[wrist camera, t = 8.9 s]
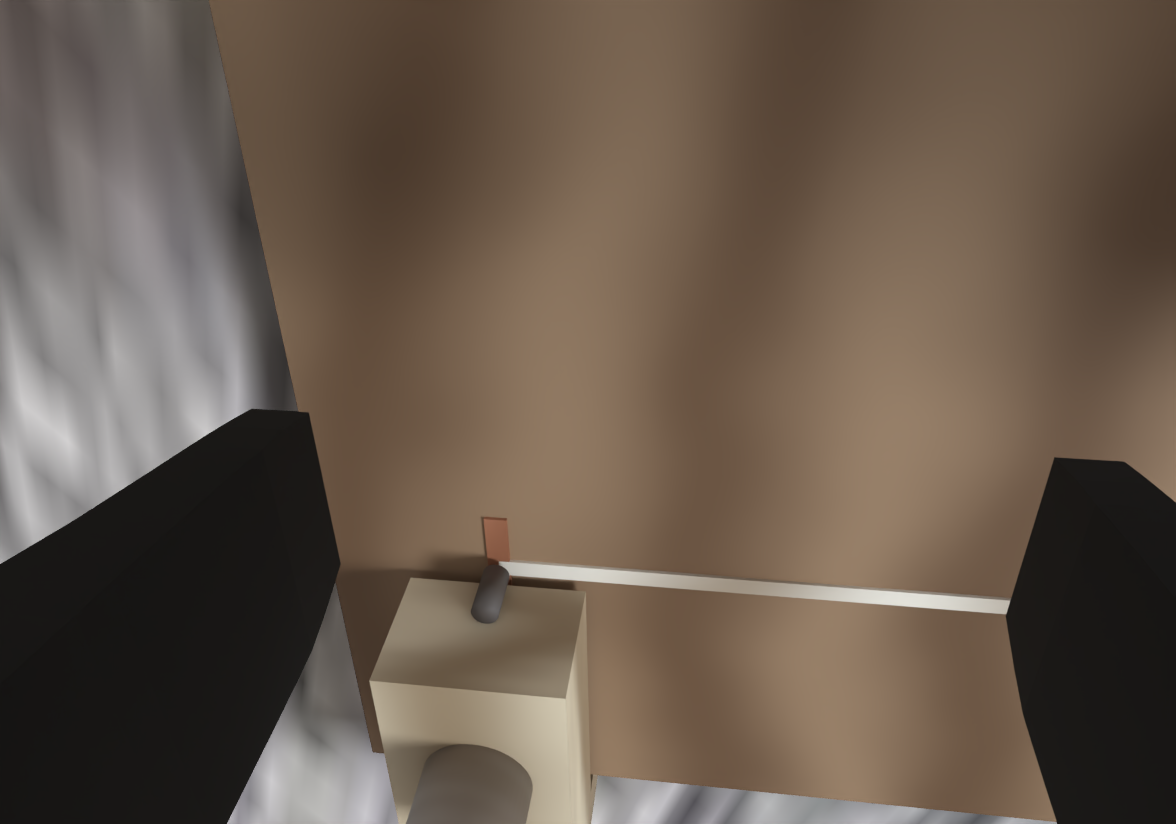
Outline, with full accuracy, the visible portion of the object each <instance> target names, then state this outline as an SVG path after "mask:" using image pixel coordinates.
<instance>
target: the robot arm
mask: <svg viewBox="0 0 1176 824" xmlns="http://www.w3.org/2000/svg"><path fill="white" fill-rule="evenodd" d="M340 565H341V562H340V558H339V553H338V548H337V544H336V539H335V534H334V529H333V525H332V520H331V515H330V510H329V506H328V501H327V496H326V491H325V487H324V482H323V477H322V473H321V468H320V463H319V458H318V454H317V449H316V444H315V439H314V435H313V430H312V425H311V420H310V416H309V412H295V411H279V410H262V409H251V410H249V411H247V412H245V413H243V414H242V415H240V416H238V417H236V418H234V419H232V420H231V421H229V422H227V423H226V424H224V425H222V426H221V427H219V428H217V429H216V430H214V431H213V432H211V433H209V434H208V435H206V436H205V437H203V438H201V439H200V440H198V441H197V442H195V443H194V444H192V445H190V446H189V447H187V448H186V449H184V450H183V451H181V452H180V453H178V454H176V455H175V456H173V457H172V458H170V459H169V460H167V461H166V462H164V463H163V464H161V465H160V466H158V467H156V468H155V469H153V470H152V471H150V472H149V473H147V474H146V475H144V476H143V477H141V478H139V479H138V480H136V481H135V482H133V483H132V484H130V485H128V486H127V487H125V488H124V489H122V490H121V491H119V492H118V493H116V494H114V495H113V496H111V497H110V498H108V499H107V500H105V501H104V502H102V503H100V504H99V505H97V506H96V507H94V508H93V509H91V510H89V511H88V512H86V513H85V514H83V515H82V516H80V517H79V518H77V519H75V520H74V521H72V522H71V523H69V524H67V525H66V526H64V527H62V528H61V529H59V530H57V531H56V532H54V533H52V534H50V535H49V536H47V537H45V538H44V539H42V540H40V541H39V542H37V543H35V544H34V545H32V546H30V547H28V548H27V549H25V550H23V551H22V552H20V553H18V554H17V555H15V556H13V557H12V558H10V559H8V560H7V561H5V562H3V563H1V564H0V824H227V822H228V820H229V818H230V816H231V814H232V812H233V810H234V808H235V806H236V804H237V802H238V800H239V798H240V796H241V794H242V792H243V790H244V788H245V786H246V784H247V782H248V780H249V778H250V776H251V774H252V772H253V770H254V768H255V766H256V764H257V762H258V760H259V758H260V756H261V754H262V752H263V750H264V748H265V746H266V744H267V742H268V740H269V738H270V736H271V734H272V732H273V730H274V728H275V726H276V724H277V722H278V720H279V718H280V716H281V714H282V712H283V709H284V707H285V705H286V703H287V701H288V699H289V697H290V695H291V693H292V691H293V689H294V687H295V685H296V683H297V681H298V679H299V677H300V675H301V672H302V670H303V668H304V666H305V664H306V662H307V660H308V658H309V656H310V653H311V651H312V649H313V646H314V643H315V640H316V638H317V635H318V632H319V629H320V626H321V623H322V621H323V618H324V615H325V612H326V609H327V606H328V603H329V599H330V596H331V593H332V590H333V587H334V584H335V581H336V577H337V574H338V571H339V568H340ZM1006 622H1007V628H1008V634H1009V640H1010V646H1011V652H1012V659H1013V665H1014V671H1015V676H1016V681H1017V686H1018V692H1019V697H1020V702H1021V707H1022V712H1023V716H1024V720H1025V723H1026V726H1027V729H1028V733H1029V736H1030V739H1031V743H1032V746H1033V749H1034V752H1035V755H1036V758H1037V762H1038V765H1039V768H1040V771H1041V774H1042V777H1043V781H1044V784H1045V787H1046V790H1047V793H1048V796H1049V799H1050V803H1051V806H1052V809H1053V812H1054V815H1055V818H1056V821H1057V824H1176V502H1175V501H1173V500H1172V499H1171V498H1170V497H1169V496H1167V495H1166V494H1165V493H1164V492H1163V491H1161V490H1160V489H1159V488H1158V487H1157V486H1155V485H1154V484H1153V483H1152V482H1150V481H1149V480H1148V479H1147V478H1145V477H1144V476H1143V475H1142V474H1140V473H1139V472H1138V471H1136V470H1135V469H1134V468H1132V467H1131V466H1130V465H1128V464H1127V463H1126V462H1124V461H1108V460H1091V459H1075V458H1058V457H1054V460H1053V464H1052V467H1051V470H1050V473H1049V477H1048V480H1047V483H1046V486H1045V490H1044V493H1043V496H1042V499H1041V503H1040V506H1039V509H1038V512H1037V516H1036V519H1035V522H1034V525H1033V529H1032V532H1031V535H1030V539H1029V542H1028V545H1027V548H1026V552H1025V555H1024V558H1023V561H1022V565H1021V568H1020V571H1019V574H1018V578H1017V581H1016V584H1015V587H1014V591H1013V594H1012V597H1011V600H1010V604H1009V607H1008V610H1007V613H1006Z"/></svg>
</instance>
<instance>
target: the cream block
mask: <svg viewBox="0 0 1176 824" xmlns="http://www.w3.org/2000/svg"><path fill="white" fill-rule="evenodd" d="M509 577H510V575H509V572H508V571H507V570H506V569H505V568H504V567H502V566H500V565H489V566H487V567H486V568H485V569H484V571H483V574H482V577H481V580H480V583H472V582H460V581H447V580H434V579H422V578H410V581H409V583H408V586H407V588H406V591H405V593H404V596H403V598H402V601H401V603H400V606H399V608H398V611H397V613H396V616H395V618H394V620H393V623H392V625H391V628H390V630H389V633H388V635H387V638H386V640H385V643H384V645H383V648H382V650H381V653H380V655H379V658H378V660H377V663H376V665H375V668H374V670H373V673H372V675H371V678H370V680H369V682H370V686H371V691H372V696H373V701H374V706H375V710H376V715H377V720H378V725H379V730H380V734H381V739H382V744H383V749H384V754H385V758H386V763H387V768H388V773H389V778H390V782H391V787H392V792H393V797H394V802H395V807H396V811H397V816H398V821H399V824H591V819H592V812H593V805H594V798H595V790H596V783H597V776H598V775H592V774H590V741H589V702H588V663H587V624H586V592H585V591H572V590H560V589H547V588H535V587H522V586H510V585H508V581H509Z"/></svg>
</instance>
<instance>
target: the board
mask: <svg viewBox="0 0 1176 824" xmlns="http://www.w3.org/2000/svg"><path fill="white" fill-rule="evenodd" d="M209 4H210V8H211V13H212V18H213V22H214V27H215V31H216V36H217V41H218V45H219V50H220V54H221V59H222V63H223V68H224V73H225V77H226V82H227V86H228V91H229V96H230V100H231V105H232V109H233V114H234V118H235V123H236V128H237V132H238V137H239V141H240V146H241V151H242V155H243V160H244V164H245V169H246V173H247V178H248V183H249V187H250V192H251V196H252V201H253V206H254V210H255V215H256V219H257V224H258V228H259V233H260V238H261V242H262V247H263V251H264V256H265V261H266V265H267V270H268V274H269V279H270V283H271V288H272V293H273V297H274V302H275V306H276V311H277V315H278V320H279V325H280V329H281V334H282V338H283V343H284V348H285V352H286V357H287V361H288V366H289V370H290V375H291V380H292V384H293V389H294V393H295V398H296V403H297V407H298V412H309V416H310V420H311V425H312V430H313V435H314V439H315V444H316V449H317V454H318V458H319V463H320V468H321V473H322V477H323V482H324V487H325V491H326V496H327V501H328V506H329V510H330V515H331V520H332V525H333V529H334V534H335V539H336V544H337V548H338V553H339V558H340V562H341V565H340V568H339V571H338V574H337V577H336V586H337V590H338V595H339V600H340V604H341V609H342V613H343V618H344V623H345V627H346V632H347V636H348V641H349V645H350V650H351V655H352V659H353V664H354V668H355V673H356V678H357V682H358V687H359V691H360V696H361V700H362V705H363V710H364V714H365V719H366V723H367V728H368V733H369V737H370V742H371V746H372V751H373V752H376V753H384V749H383V744H382V739H381V734H380V730H379V725H378V720H377V715H376V710H375V706H374V701H373V696H372V691H371V686H370V682H369V680H370V678H371V675H372V673H373V670H374V668H375V665H376V663H377V660H378V658H379V655H380V653H381V650H382V648H383V645H384V643H385V640H386V638H387V635H388V633H389V630H390V628H391V625H392V623H393V620H394V618H395V616H396V613H397V611H398V608H399V606H400V603H401V601H402V598H403V596H404V593H405V591H406V588H407V586H408V583H409V581H410V578H422V579H434V580H447V581H460V582H472V583H480V580H481V577H482V574H483V571H484V569H485V568H486V567H487V566H489V565H500V566H502V567H504V568H505V569H506V570H507V571H508V572H509V575H510V577H509V581H508V585H510V586H522V587H535V588H547V589H560V590H572V591H585V592H586V624H587V663H588V702H589V741H590V774H592V775H602V776H611V777H621V778H631V779H641V780H651V781H661V782H670V783H680V784H690V785H700V786H710V787H719V788H729V789H739V790H749V791H759V792H769V793H778V794H788V795H798V796H808V797H818V798H828V799H837V800H847V801H857V802H867V803H877V804H886V805H896V806H906V807H916V808H926V809H936V810H945V811H955V812H965V813H975V814H985V815H995V816H1004V817H1014V818H1024V819H1034V820H1044V821H1053V822H1057V821H1056V818H1055V815H1054V812H1053V809H1052V806H1051V803H1050V799H1049V796H1048V793H1047V790H1046V787H1045V784H1044V781H1043V777H1042V774H1041V771H1040V768H1039V765H1038V762H1037V758H1036V755H1035V752H1034V749H1033V746H1032V743H1031V739H1030V736H1029V733H1028V729H1027V726H1026V723H1025V720H1024V716H1023V712H1022V707H1021V702H1020V697H1019V692H1018V686H1017V681H1016V676H1015V671H1014V665H1013V659H1012V652H1011V646H1010V640H1009V634H1008V628H1007V622H1006V613H1007V610H1008V607H1009V604H1010V600H1011V597H1012V594H1013V591H1014V587H1015V584H1016V581H1017V578H1018V574H1019V571H1020V568H1021V565H1022V561H1023V558H1024V555H1025V552H1026V548H1027V545H1028V542H1029V539H1030V535H1031V532H1032V529H1033V525H1034V522H1035V519H1036V516H1037V512H1038V509H1039V506H1040V503H1041V499H1042V496H1043V493H1044V490H1045V486H1046V483H1047V480H1048V477H1049V473H1050V470H1051V467H1052V464H1053V460H1054V457H1058V458H1075V459H1091V460H1108V461H1124V462H1126V463H1127V464H1128V465H1130V466H1131V467H1132V468H1134V469H1135V470H1136V471H1138V472H1139V473H1140V474H1142V475H1143V476H1144V477H1145V478H1147V479H1148V480H1149V481H1150V482H1152V483H1153V484H1154V485H1155V486H1157V487H1158V488H1159V489H1160V490H1161V491H1163V492H1164V493H1165V494H1166V495H1167V496H1169V497H1170V498H1171V499H1172V500H1173V501H1175V502H1176V0H209Z"/></svg>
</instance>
